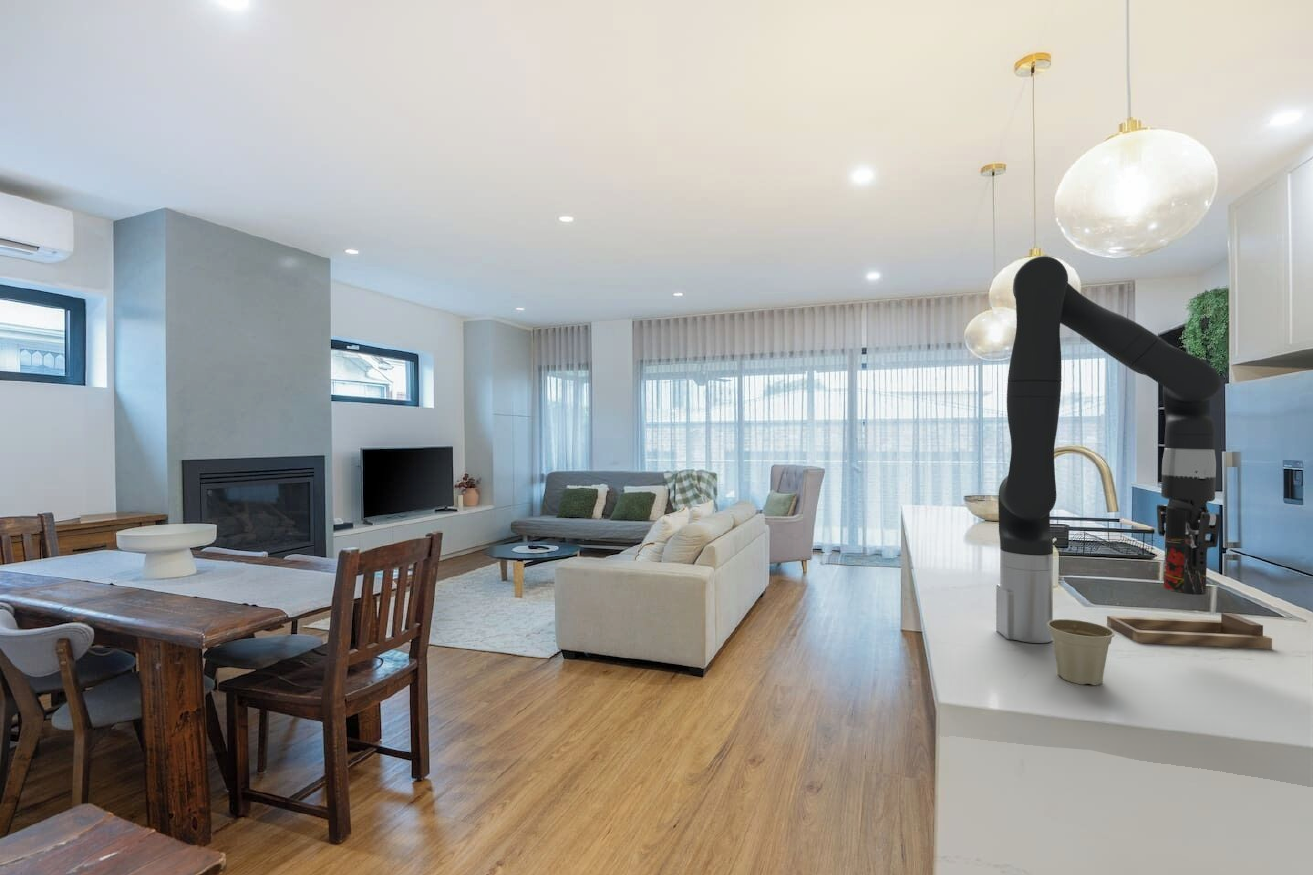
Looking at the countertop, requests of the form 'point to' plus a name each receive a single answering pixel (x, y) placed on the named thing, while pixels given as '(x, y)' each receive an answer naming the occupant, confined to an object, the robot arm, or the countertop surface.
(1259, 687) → the countertop surface
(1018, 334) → the robot arm
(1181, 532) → the deodorant
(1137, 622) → the wooden frame
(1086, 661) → the flower pot
